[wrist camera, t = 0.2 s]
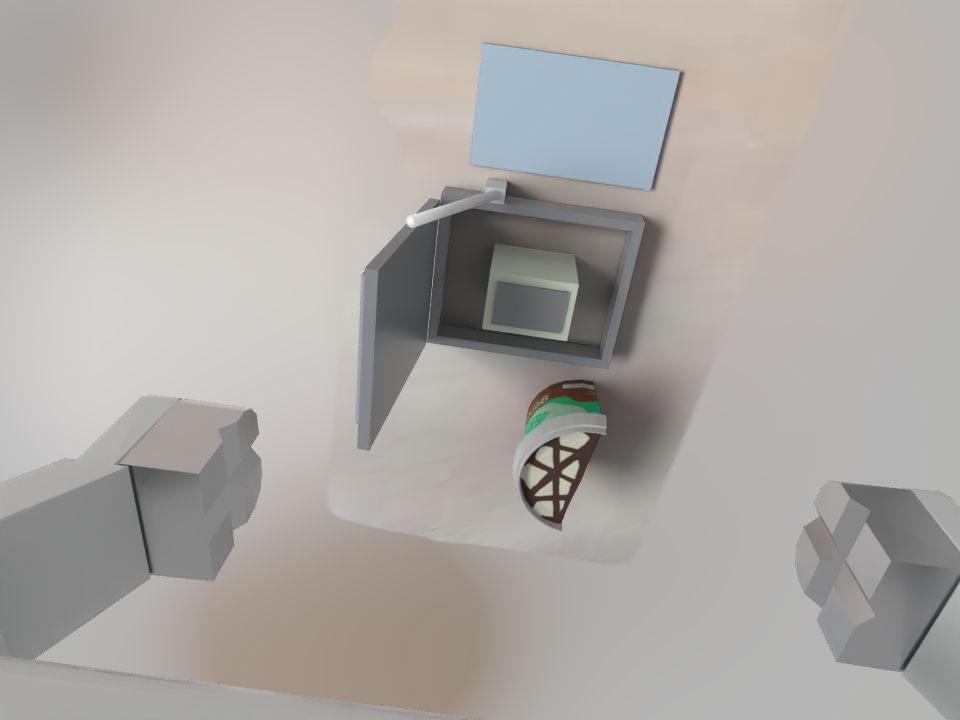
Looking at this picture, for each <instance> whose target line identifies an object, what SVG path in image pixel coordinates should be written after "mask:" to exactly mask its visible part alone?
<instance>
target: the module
mask: <svg viewBox="0 0 960 720" xmlns="http://www.w3.org/2000/svg"><path fill="white" fill-rule="evenodd" d="M578 287H579V282H578V275H577V269H576V262H575V256H574V255H572V254H565V253H558V252H551V251H544V250H538V249H531V248H524V247H517V246H510V245H503V244H496V243H495V246H494V251H493V257H492V263H491V269H490V275H489V282H488V289H487V297H486V304H485V311H484V318H483V325H482V329H486V330H493V331H500V332H507V333H514V334H520V335H527V336H534V337H541V338H548V339H555V340H562V341H567V339H568V334H569V329H570V324H571V320H572V315H573V310H574V306H575V301H576V296H577V291H578Z"/></svg>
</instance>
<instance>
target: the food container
mask: <svg viewBox="0 0 960 720" xmlns="http://www.w3.org/2000/svg"><path fill="white" fill-rule="evenodd" d="M606 428H607V419H606V415H602V414H601V410H600V406H599V403H598V399H597V395H596V391H595V388H594V384H593V382H588V381H583V380H571V381H563V382H560V383H557V384H554V385H550V386H549V387H548V388H546V389H545V390H543V391H542V392H540V393H539V394H538V395H537V396H536V397H535V399H534V400H533V401H532V403H531V405H530V407H529V410H528V414H527V420H526V427H525V433H524V439H523V440H522V441H521V443H520V444H519V446H518V448H517V450H516V452H515V455H514V459H513V467H512V471H513V479H514V482H515V486H516V489H517V492H518V495H519V497H520V499H521V501H522V503H523V504H524V506H525V507H526V509H527V510H528V511H529V512H530V514H531V515H532V516H533V517H535V518H536V519H537V520H538V521H540V522H541V523H542V524H544V525H546V526H548V527H550V528H552V529H554V530H557V531H560V532H562V519H563V518H564V514H565V512H566V510H567V507H568V505H569V503H570V501H571V499H572V497H573V495H574V493H575V491H576V489H577V488H578V486H579V484H580V482H581V479H582V477H583V474H584V472H585V469H586V467H587V464H588V462H589V460H590V457H591V455H592V453H593V451H594V448H595V446H596V444H597V442H598V439H599V437H600V435H601V434H603V435H606Z"/></svg>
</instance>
